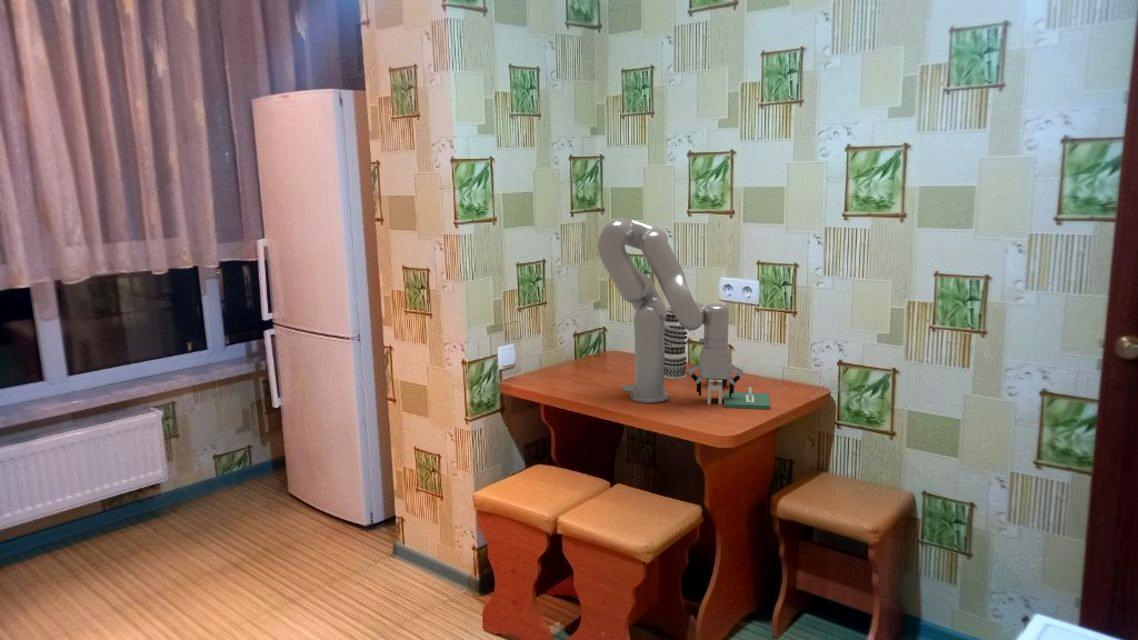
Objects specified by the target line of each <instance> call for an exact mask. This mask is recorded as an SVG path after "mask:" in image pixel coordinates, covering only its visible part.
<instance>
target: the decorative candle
mask: <svg viewBox="0 0 1138 640" xmlns="http://www.w3.org/2000/svg"><path fill="white" fill-rule="evenodd" d="M666 310H667V316H666V319H665V323H664V352H665V355H664V379H669V380H682V379H685V378H686V377H687V366H686V365H687V356H686V355H687V354H686V346H687V345H688V342H687V341H686V339H688V336H687V334H688V331H686V329H684V328H683V327H682V326H681V325H680V323H679V322H678V320H677V318H676V316H675V315H674V313H673V311H672V309H671V307H670V306H669V307H666Z"/></svg>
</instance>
